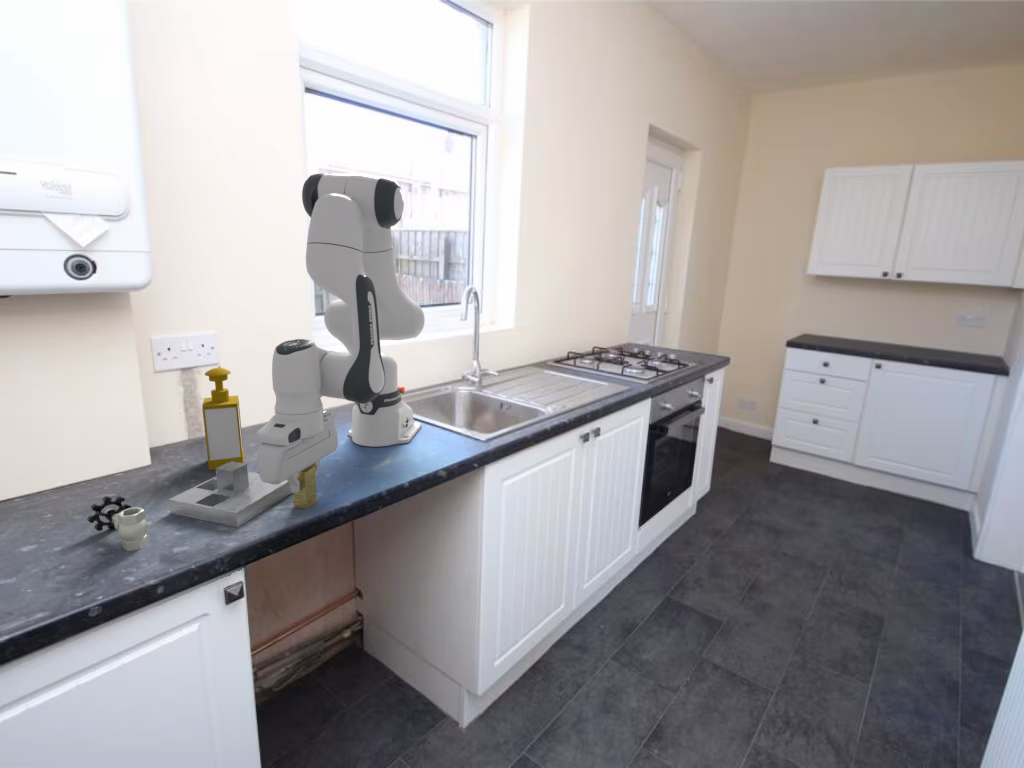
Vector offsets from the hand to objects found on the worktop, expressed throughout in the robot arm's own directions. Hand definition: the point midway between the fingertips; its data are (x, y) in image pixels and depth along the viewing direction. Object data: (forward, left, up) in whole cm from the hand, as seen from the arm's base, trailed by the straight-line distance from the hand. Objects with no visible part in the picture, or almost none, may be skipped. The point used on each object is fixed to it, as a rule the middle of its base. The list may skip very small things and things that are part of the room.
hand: (304, 486), depth 108 cm
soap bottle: (-14, -33, -4) cm, 36 cm away
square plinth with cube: (+4, -14, -4) cm, 15 cm away
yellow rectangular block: (0, 0, -4) cm, 4 cm away
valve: (+22, -21, -4) cm, 31 cm away
